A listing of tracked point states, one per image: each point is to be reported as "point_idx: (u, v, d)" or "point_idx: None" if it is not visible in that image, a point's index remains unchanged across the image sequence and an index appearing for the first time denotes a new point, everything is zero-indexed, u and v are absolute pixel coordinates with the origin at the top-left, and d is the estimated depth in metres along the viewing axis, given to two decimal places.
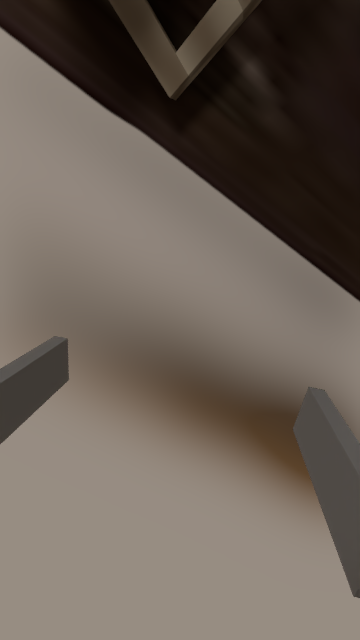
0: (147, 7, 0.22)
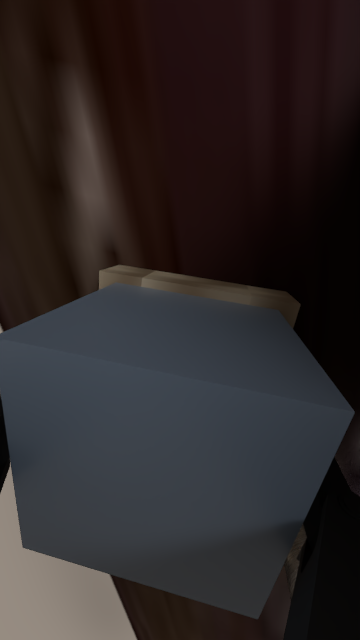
0: None
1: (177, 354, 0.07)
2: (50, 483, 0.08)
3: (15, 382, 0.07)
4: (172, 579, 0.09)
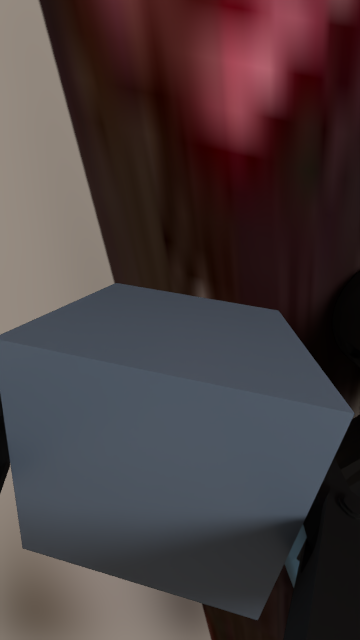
0: None
1: (177, 355, 0.07)
2: (50, 484, 0.08)
3: (15, 383, 0.07)
4: (172, 580, 0.09)
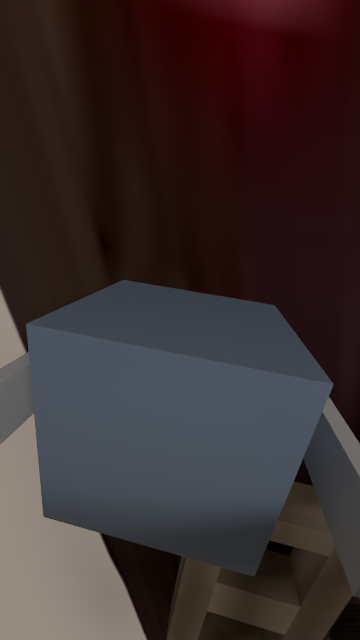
0: (201, 624, 0.20)
1: (184, 339, 0.08)
2: (71, 455, 0.09)
3: (45, 364, 0.08)
4: (178, 541, 0.10)
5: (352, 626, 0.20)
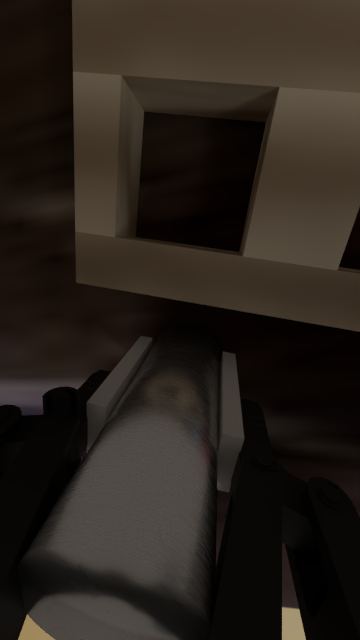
0: (220, 78, 0.09)
1: None
2: None
3: None
4: None
5: (216, 353, 0.15)
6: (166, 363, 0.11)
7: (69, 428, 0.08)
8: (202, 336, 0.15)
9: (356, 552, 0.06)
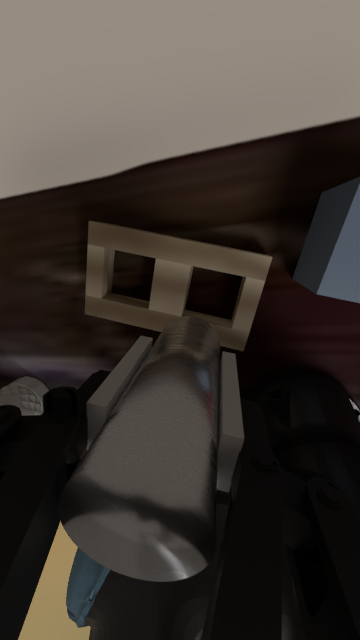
0: (137, 253, 0.27)
1: None
2: None
3: None
4: (341, 258, 0.20)
5: (216, 341, 0.16)
6: (173, 347, 0.12)
7: (69, 428, 0.08)
8: (204, 326, 0.16)
9: (356, 552, 0.06)
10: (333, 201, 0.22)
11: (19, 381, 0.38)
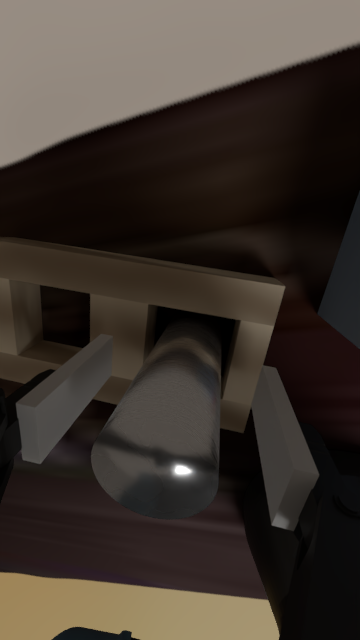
0: (59, 286, 0.17)
1: None
2: None
3: None
4: None
5: (218, 332, 0.18)
6: (180, 334, 0.14)
7: None
8: (207, 318, 0.18)
9: None
10: None
11: None
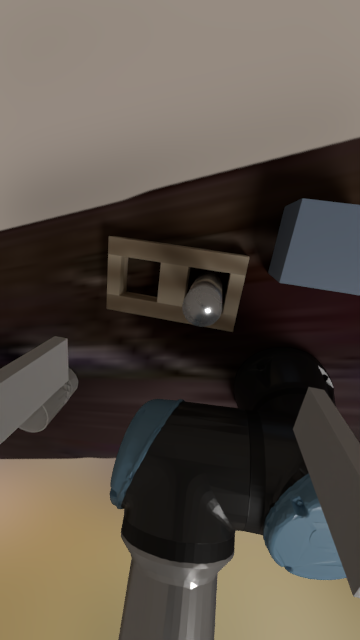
0: (146, 259, 0.35)
1: None
2: (337, 217, 0.26)
3: None
4: (294, 256, 0.28)
5: (220, 282, 0.36)
6: (204, 277, 0.33)
7: None
8: (215, 275, 0.37)
9: None
10: (289, 214, 0.30)
11: None
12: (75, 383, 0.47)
